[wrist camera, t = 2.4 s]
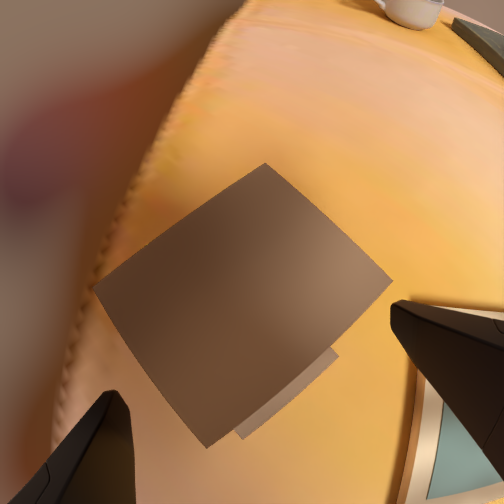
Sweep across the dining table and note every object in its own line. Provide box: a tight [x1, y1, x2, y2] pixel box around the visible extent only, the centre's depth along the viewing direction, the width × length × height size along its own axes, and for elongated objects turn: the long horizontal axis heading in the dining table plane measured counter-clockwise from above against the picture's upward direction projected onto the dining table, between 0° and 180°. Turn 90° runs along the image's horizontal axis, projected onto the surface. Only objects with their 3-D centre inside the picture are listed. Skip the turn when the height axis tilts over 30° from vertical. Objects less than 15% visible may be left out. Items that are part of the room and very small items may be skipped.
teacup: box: [374, 0, 444, 30], centre depth 35 cm, size 14×11×8 cm
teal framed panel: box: [396, 305, 504, 504], centre depth 14 cm, size 14×12×1 cm
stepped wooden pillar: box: [92, 163, 393, 449], centre depth 12 cm, size 7×7×12 cm
